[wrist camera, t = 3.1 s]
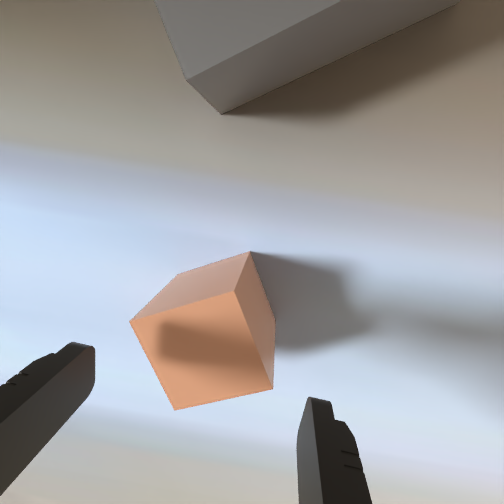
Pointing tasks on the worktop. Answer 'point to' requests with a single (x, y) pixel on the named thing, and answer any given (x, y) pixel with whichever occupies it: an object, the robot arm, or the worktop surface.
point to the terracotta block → (210, 333)
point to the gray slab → (275, 39)
